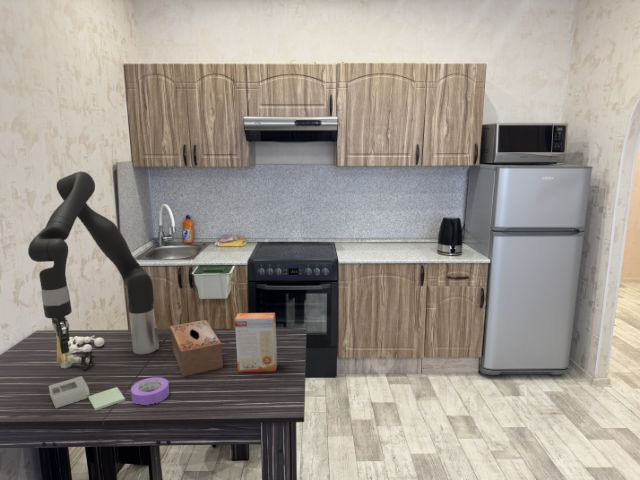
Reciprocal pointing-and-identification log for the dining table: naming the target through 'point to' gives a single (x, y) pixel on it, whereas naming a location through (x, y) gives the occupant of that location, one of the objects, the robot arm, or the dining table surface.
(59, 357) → the knob
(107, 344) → the dining table surface
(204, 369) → the tissue box cover
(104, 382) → the dining table surface
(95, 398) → the pad
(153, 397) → the masking tape
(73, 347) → the tangled rod sculpture
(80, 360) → the valve
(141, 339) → the robot arm
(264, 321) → the cracker box
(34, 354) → the dining table surface
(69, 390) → the block
